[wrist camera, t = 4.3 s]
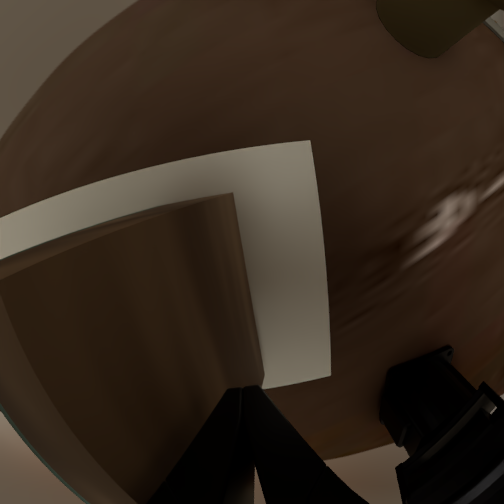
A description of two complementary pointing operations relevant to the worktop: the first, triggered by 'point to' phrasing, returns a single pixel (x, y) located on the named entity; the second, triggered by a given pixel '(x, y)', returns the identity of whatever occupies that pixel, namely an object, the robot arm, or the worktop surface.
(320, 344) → the board
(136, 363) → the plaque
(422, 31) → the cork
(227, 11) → the worktop surface
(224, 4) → the worktop surface
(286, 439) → the robot arm
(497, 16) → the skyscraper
